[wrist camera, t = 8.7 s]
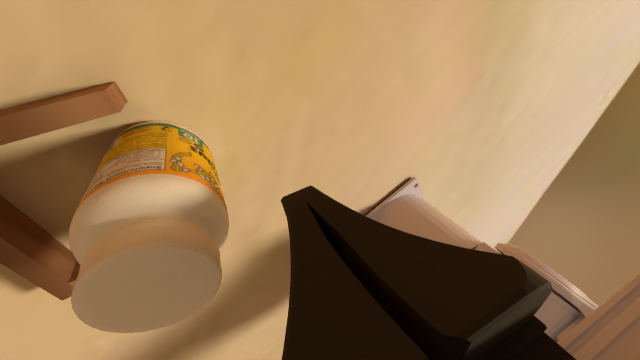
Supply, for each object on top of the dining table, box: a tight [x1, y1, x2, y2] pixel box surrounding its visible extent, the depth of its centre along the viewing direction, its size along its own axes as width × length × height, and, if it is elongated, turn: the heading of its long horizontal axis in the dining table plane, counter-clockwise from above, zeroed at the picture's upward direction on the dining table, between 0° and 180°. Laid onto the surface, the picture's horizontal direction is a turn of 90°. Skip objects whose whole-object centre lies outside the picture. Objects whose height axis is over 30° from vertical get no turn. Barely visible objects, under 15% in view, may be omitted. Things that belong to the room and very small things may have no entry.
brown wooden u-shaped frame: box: [0, 82, 127, 300], centre depth 13 cm, size 8×10×2 cm
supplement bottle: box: [69, 121, 229, 333], centre depth 11 cm, size 5×5×10 cm
